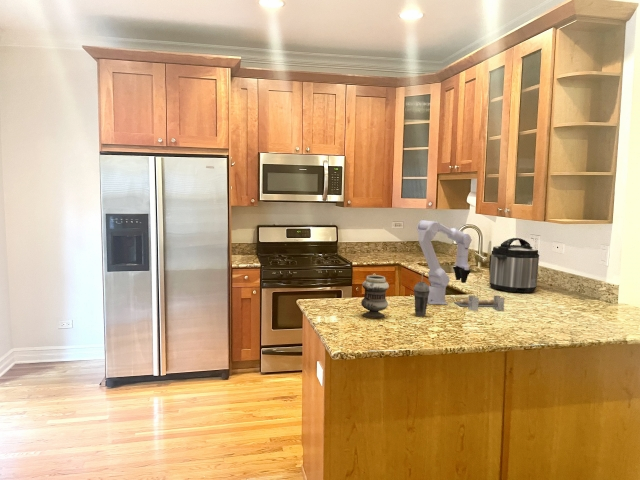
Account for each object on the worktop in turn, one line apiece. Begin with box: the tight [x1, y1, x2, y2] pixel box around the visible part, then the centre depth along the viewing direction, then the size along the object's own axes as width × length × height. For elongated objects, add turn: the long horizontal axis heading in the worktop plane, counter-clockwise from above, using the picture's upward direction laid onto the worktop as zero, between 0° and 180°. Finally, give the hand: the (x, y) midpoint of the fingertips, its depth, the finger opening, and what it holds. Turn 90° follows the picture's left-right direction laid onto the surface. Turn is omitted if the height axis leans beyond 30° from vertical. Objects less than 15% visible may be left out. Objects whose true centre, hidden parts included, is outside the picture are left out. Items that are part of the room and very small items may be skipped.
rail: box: [459, 298, 494, 305], centre depth 239 cm, size 18×2×2 cm, turn 95°
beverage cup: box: [413, 272, 430, 318], centre depth 213 cm, size 7×7×20 cm
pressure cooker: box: [488, 237, 540, 294], centre depth 285 cm, size 30×28×32 cm
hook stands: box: [467, 294, 505, 312], centre depth 230 cm, size 16×5×6 cm, turn 95°
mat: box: [453, 301, 493, 308], centre depth 239 cm, size 22×8×1 cm, turn 95°
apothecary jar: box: [360, 274, 390, 319], centre depth 210 cm, size 12×12×18 cm
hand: (460, 281), depth 248 cm, fingers open, 7 cm apart
